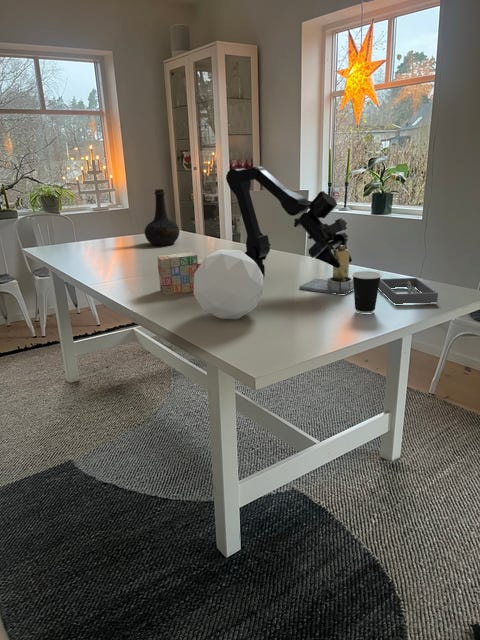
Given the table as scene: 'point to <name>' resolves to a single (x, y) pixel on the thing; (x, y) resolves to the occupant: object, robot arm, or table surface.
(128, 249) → the table surface
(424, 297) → the tray
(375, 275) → the dixie cup
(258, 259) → the robot arm
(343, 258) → the gold capped bottle
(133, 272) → the table surface
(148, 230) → the glass bottle
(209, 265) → the ball
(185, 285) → the stack of blocks
